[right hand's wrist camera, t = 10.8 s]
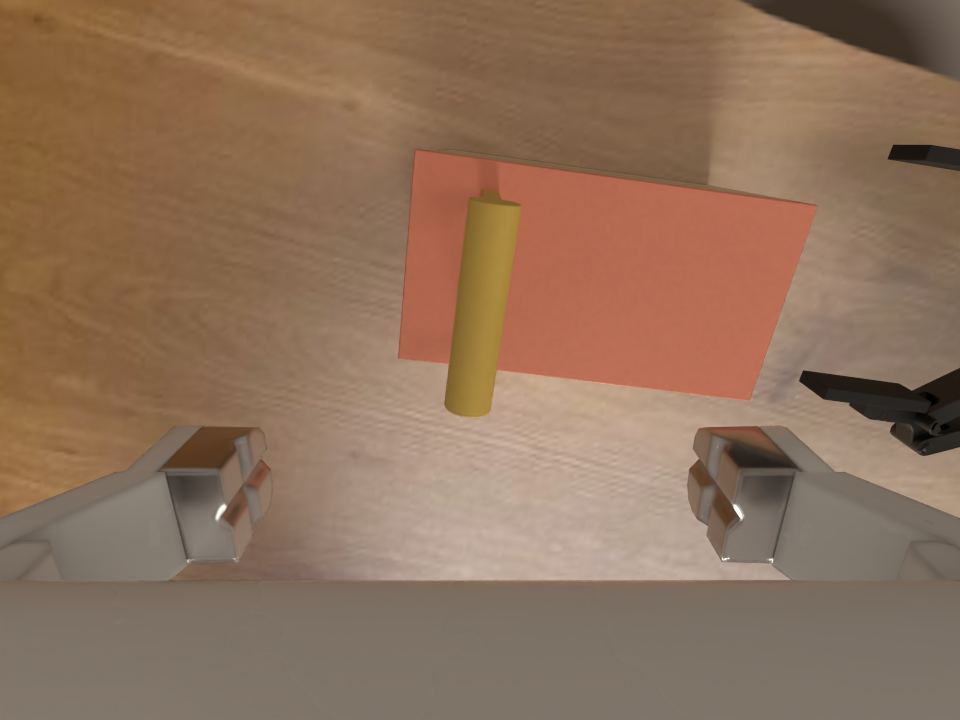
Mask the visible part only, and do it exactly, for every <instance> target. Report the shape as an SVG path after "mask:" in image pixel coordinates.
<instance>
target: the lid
mask: <svg viewBox="0 0 960 720" xmlns="http://www.w3.org/2000/svg"><path fill="white" fill-rule="evenodd" d="M817 207H818V206H817V205H813V204H808V203H802V202H795V201H787V200H780V199H773V198H766V197H759V196H751V195H744V194H737V193H730V192H723V191H716V190H708V189H701V188H694V187H687V186H680V185H672V184H665V183H658V182H651V181H644V180H637V179H629V178H622V177H615V176H608V175H601V174H593V173H586V172H579V171H572V170H565V169H558V168H550V167H543V166H536V165H529V164H522V163H514V162H507V161H500V160H493V159H486V158H479V157H471V156H464V155H457V154H450V153H443V152H435V151H428V150H421V149H416V150H415V153H414V166H413V178H412V191H411V203H410V216H409V228H408V241H407V253H406V266H405V279H404V291H403V304H402V316H401V329H400V341H399V354H398V358H399V359H407V360H415V361H424V362H432V363H440V364H448V365H449V369H448V377H447V386H446V394H445V403H444V405H445V407H446V409H447V410H448V411H449V412H451V413H453V414H455V415H458V416H462V417H468V418H477V417H482V416H485V415H487V414H488V413H489V412H490V410H491V403H492V397H493V390H494V384H495V377H496V371H497V370H498V371H506V372H515V373H523V374H531V375H539V376H548V377H556V378H564V379H572V380H581V381H589V382H597V383H605V384H614V385H622V386H630V387H638V388H647V389H655V390H663V391H672V392H680V393H688V394H696V395H705V396H713V397H721V398H729V399H738V400H746V401H749V400H750V398H751V395H752V392H753V389H754V386H755V383H756V381H757V378H758V375H759V372H760V369H761V366H762V363H763V361H764V358H765V355H766V352H767V349H768V346H769V344H770V341H771V338H772V335H773V332H774V329H775V326H776V324H777V321H778V318H779V315H780V312H781V309H782V307H783V304H784V301H785V298H786V295H787V292H788V289H789V287H790V284H791V281H792V278H793V275H794V272H795V270H796V267H797V264H798V261H799V258H800V255H801V252H802V250H803V247H804V244H805V241H806V238H807V235H808V233H809V230H810V227H811V224H812V221H813V218H814V215H815V213H816V210H817Z"/></svg>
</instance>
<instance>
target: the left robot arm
mask: <svg viewBox="0 0 960 720" xmlns="http://www.w3.org/2000/svg"><path fill="white" fill-rule="evenodd" d="M888 159H889V160H895V161H901V162H908V163H914V164H920V165H926V166H932V167H939V168H945V169H951V170H957V171H960V150H959V149H953V148H947V147H940V146H934V145H893V147H892V149H891V152H890V154H889V157H888ZM799 381H800V382H801V383H802V384H804V385H805V386H806V387H808V388H809V389H810V390H812V391H813V392H814V393H816V394H817V395H818V396H820V397H821V398H822V399H825V400H832V401H840V402H847V403H850V404H849V406H851V407H852V408H854V409H855V410H856V411H858V412H859V413H861V414H862V415H864V416H865V417H867V418H869V419H872V420H880V421H887V422H894V423H895V424H894V425H893V426H892V427H891V430H890V432H891V434H892V435H893V436H894V437H895V438H897V439H898V440H900V441H901V442H902V443H904V444H905V445H907V446H908V447H910V448H911V449H912V450H914V451H915V452H917V453H918V454H920V455H922V456H927V455H931V454H935V453H939V452H942V451H946V450H950V449H954V448H958V447H960V368H959V369H957V370H955V371H953V372H950V373H948V374H946V375H944V376H942V377H940V378H938V379H936V380H934V381H932V382H930V383H927V384H925V385H923V386H921V387H919V388H917V389H915V390H913V391H911V390H909V389H908V388H906V387H904V386H902V385H901V384H898V383H891V382H883V381H876V380H869V379H862V378H854V377H847V376H840V375H833V374H825V373H818V372H811V371H804V370H803V372H802V375H801V377H800V380H799Z"/></svg>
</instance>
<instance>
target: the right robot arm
mask: <svg viewBox="0 0 960 720" xmlns="http://www.w3.org/2000/svg"><path fill="white" fill-rule="evenodd" d="M266 450H267V445H266V440H265V435H264V432H263V431H262V430H261V429H260V428H259V427H213V426H207V427H205V426H180V427H173V428H172V429H171V430H170V431H169V432H168V433H167V434H166V435H165V436H164V437H162V438H161V439H160V440H159V441H158V442H157V443H156V444H155V445H154V446H153V447H151V448H150V449H149V450H148V451H147V452H146V453H145V454H144V455H143V456H142V457H140V458H139V459H138V460H137V461H136V462H135V463H134V464H133V465H132V466H131V467H129V468H128V469H127V470H126V471H125V472H114V473H112V474H109V475H107V476H104V477H102V478H99V479H97V480H94V481H92V482H89V483H87V484H84V485H82V486H79V487H77V488H74V489H72V490H69V491H67V492H64V493H62V494H59V495H57V496H54V497H52V498H49V499H47V500H44V501H42V502H39V503H37V504H34V505H32V506H29V507H27V508H24V509H22V510H19V511H17V512H14V513H12V514H9V515H7V516H4V517H2V518H0V720H960V518H958V517H955V516H953V515H950V514H948V513H945V512H943V511H940V510H938V509H935V508H933V507H930V506H928V505H925V504H923V503H920V502H918V501H915V500H913V499H910V498H908V497H905V496H903V495H900V494H898V493H895V492H893V491H891V490H888V489H886V488H883V487H881V486H878V485H876V484H873V483H871V482H868V481H866V480H863V479H861V478H858V477H856V476H853V475H851V474H848V473H846V472H835V471H834V470H833V469H832V468H831V467H830V466H828V465H827V464H826V463H825V462H824V461H823V460H822V459H821V458H820V457H819V456H817V455H816V454H815V453H814V452H813V451H812V450H811V449H810V448H809V447H808V446H807V445H805V444H804V443H803V442H802V441H801V440H800V439H799V438H798V437H797V436H796V435H794V434H793V433H792V432H791V431H790V430H789V429H788V428H786V427H783V426H761V427H758V426H746V427H705V428H700V429H698V431H697V433H696V436H695V439H694V445H693V450H694V451H695V453H696V455H697V456H698V458H699V460H698V461H697V462H696V463H695V464H694V465H693V466H692V467H691V468H690V469H689V475H688V483H687V488H688V499H689V502H690V506H691V509H692V511H693V513H694V515H695V516H696V518H697V519H698V520H699V521H701V522H703V523H704V524H706V525H707V526H708V530H707V537H708V539H709V541H710V542H711V544H712V546H713V547H714V549H715V551H716V553H717V554H718V556H719V558H720V559H721V561H722V562H742V563H772V566H773V567H775V568H776V569H777V570H779V571H780V572H781V573H783V574H784V575H785V576H787V577H788V578H789V579H791V580H625V581H168V580H169V579H171V578H172V577H173V576H175V575H176V574H177V573H179V572H180V571H182V570H183V569H184V568H186V567H187V566H188V563H217V562H238V561H239V559H240V558H241V556H242V554H243V553H244V551H245V549H246V548H247V546H248V544H249V542H250V541H251V539H252V537H253V530H252V526H253V525H254V524H256V523H257V522H259V521H261V520H262V519H263V518H264V516H265V515H266V513H267V511H268V509H269V506H270V501H271V497H272V474H271V469H270V468H269V467H268V466H267V465H266V464H265V463H264V462H263V461H262V460H261V458H262V456H263V455H264V453H265V451H266Z"/></svg>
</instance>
